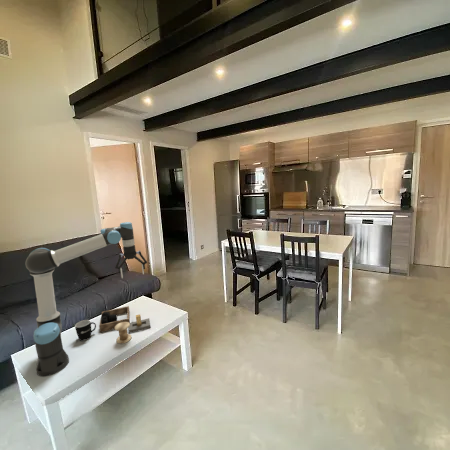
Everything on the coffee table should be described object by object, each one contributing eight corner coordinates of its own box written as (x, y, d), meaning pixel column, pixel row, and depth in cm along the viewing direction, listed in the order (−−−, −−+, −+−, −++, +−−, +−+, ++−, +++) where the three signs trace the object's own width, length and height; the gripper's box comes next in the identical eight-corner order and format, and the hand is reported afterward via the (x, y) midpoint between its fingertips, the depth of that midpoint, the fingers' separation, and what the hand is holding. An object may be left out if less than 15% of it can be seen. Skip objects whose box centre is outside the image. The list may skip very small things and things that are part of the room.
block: (137, 325, 177) (135, 315, 175) (141, 324, 178) (140, 314, 176) (137, 328, 174) (135, 317, 173) (141, 326, 175) (140, 316, 174)
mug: (79, 343, 162) (77, 329, 160) (75, 338, 168) (73, 324, 166) (99, 334, 170) (97, 320, 168) (94, 330, 176) (92, 316, 174)
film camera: (116, 327, 177) (114, 316, 176) (101, 331, 174) (99, 319, 173) (117, 317, 191) (116, 306, 190) (103, 320, 188) (102, 309, 187)
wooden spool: (116, 345, 157) (114, 331, 155) (116, 337, 165) (114, 323, 164) (131, 341, 160) (129, 327, 159) (131, 333, 168) (129, 320, 167)
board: (129, 333, 169) (128, 330, 169) (129, 325, 179) (128, 323, 178) (150, 327, 174) (150, 325, 174) (149, 320, 183) (149, 318, 183)
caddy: (100, 332, 173) (99, 325, 172) (103, 317, 192) (102, 311, 191) (129, 325, 179) (128, 318, 178) (129, 311, 199) (128, 306, 198)
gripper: (108, 249, 161) (112, 281, 164) (148, 243, 170) (152, 274, 173) (108, 247, 168) (113, 277, 171) (147, 241, 176) (151, 270, 180)
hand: (132, 275), depth 172 cm, fingers open, 13 cm apart
